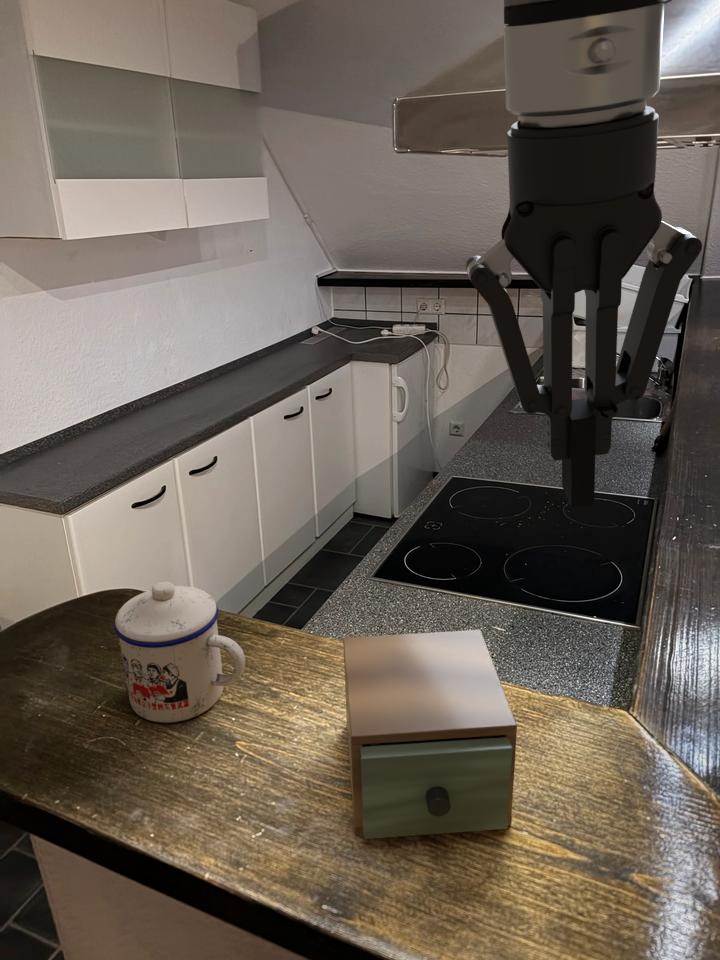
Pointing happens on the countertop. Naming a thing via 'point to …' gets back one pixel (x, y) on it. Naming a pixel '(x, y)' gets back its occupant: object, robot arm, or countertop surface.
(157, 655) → the teacup with lid
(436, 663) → the cabinet
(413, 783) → the drawer
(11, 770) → the countertop surface
